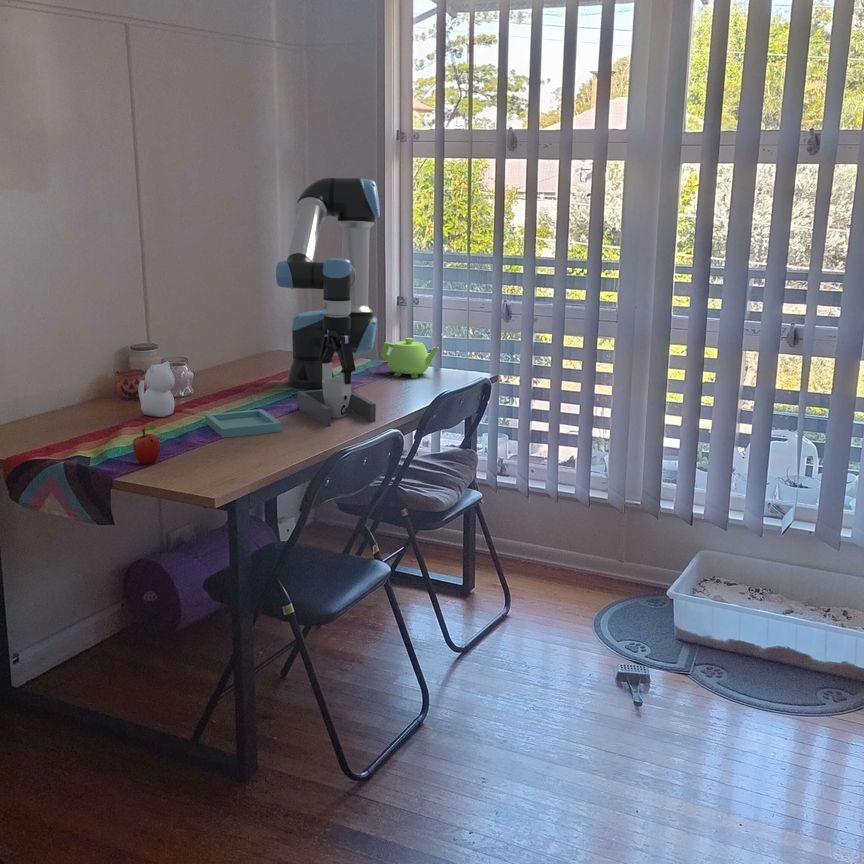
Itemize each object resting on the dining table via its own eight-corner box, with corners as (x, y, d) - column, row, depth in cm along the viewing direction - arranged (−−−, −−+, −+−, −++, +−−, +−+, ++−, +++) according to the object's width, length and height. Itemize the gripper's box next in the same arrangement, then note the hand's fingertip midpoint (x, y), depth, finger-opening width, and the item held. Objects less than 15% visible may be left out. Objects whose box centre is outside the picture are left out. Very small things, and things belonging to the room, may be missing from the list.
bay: (297, 408, 280) (297, 391, 279) (344, 403, 287) (344, 387, 286) (325, 426, 262) (325, 408, 260) (375, 421, 269) (375, 403, 267)
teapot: (442, 373, 333) (443, 337, 329) (431, 381, 320) (433, 343, 317) (387, 368, 337) (387, 333, 334) (374, 376, 325) (375, 339, 322)
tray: (205, 422, 262) (205, 414, 261) (262, 417, 270) (261, 409, 269) (222, 437, 249) (222, 429, 248) (281, 431, 256) (281, 423, 255)
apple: (125, 464, 225) (123, 423, 222) (143, 457, 231) (141, 416, 228) (153, 469, 222) (150, 427, 219) (170, 461, 228) (168, 420, 226)
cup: (346, 420, 269) (346, 385, 266) (318, 417, 271) (318, 383, 268) (354, 413, 277) (354, 379, 274) (327, 410, 278) (327, 377, 276)
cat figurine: (161, 421, 263) (159, 367, 259) (127, 414, 268) (125, 361, 264) (184, 414, 270) (182, 362, 266) (150, 407, 276) (148, 356, 272)
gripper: (307, 309, 275) (307, 382, 280) (342, 322, 254) (341, 400, 259) (331, 309, 278) (331, 381, 284) (368, 320, 257) (367, 398, 263)
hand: (336, 390), depth 271 cm, fingers open, 13 cm apart
